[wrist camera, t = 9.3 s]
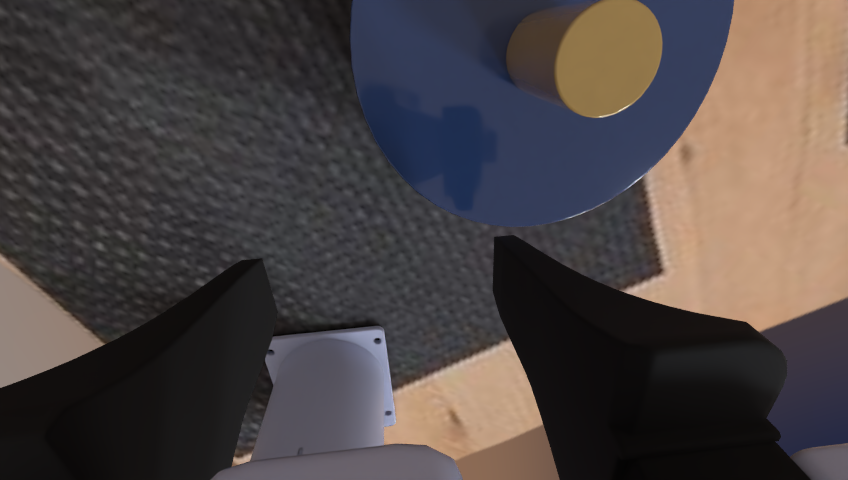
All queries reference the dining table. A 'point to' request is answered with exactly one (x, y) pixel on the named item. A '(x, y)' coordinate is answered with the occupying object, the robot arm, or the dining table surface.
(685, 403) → the robot arm
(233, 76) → the dining table surface
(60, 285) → the dining table surface
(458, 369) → the dining table surface
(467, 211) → the lid
